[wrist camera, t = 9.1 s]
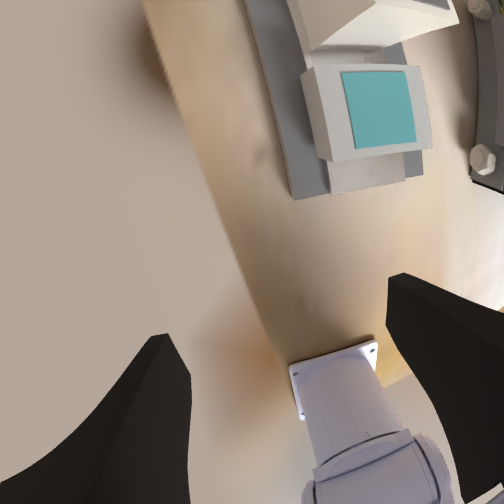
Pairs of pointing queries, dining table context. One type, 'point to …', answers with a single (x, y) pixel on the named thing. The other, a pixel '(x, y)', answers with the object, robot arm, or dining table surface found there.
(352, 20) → the block
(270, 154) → the dining table surface
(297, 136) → the plate
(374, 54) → the din rail
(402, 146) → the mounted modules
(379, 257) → the dining table surface
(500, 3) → the electrical component
